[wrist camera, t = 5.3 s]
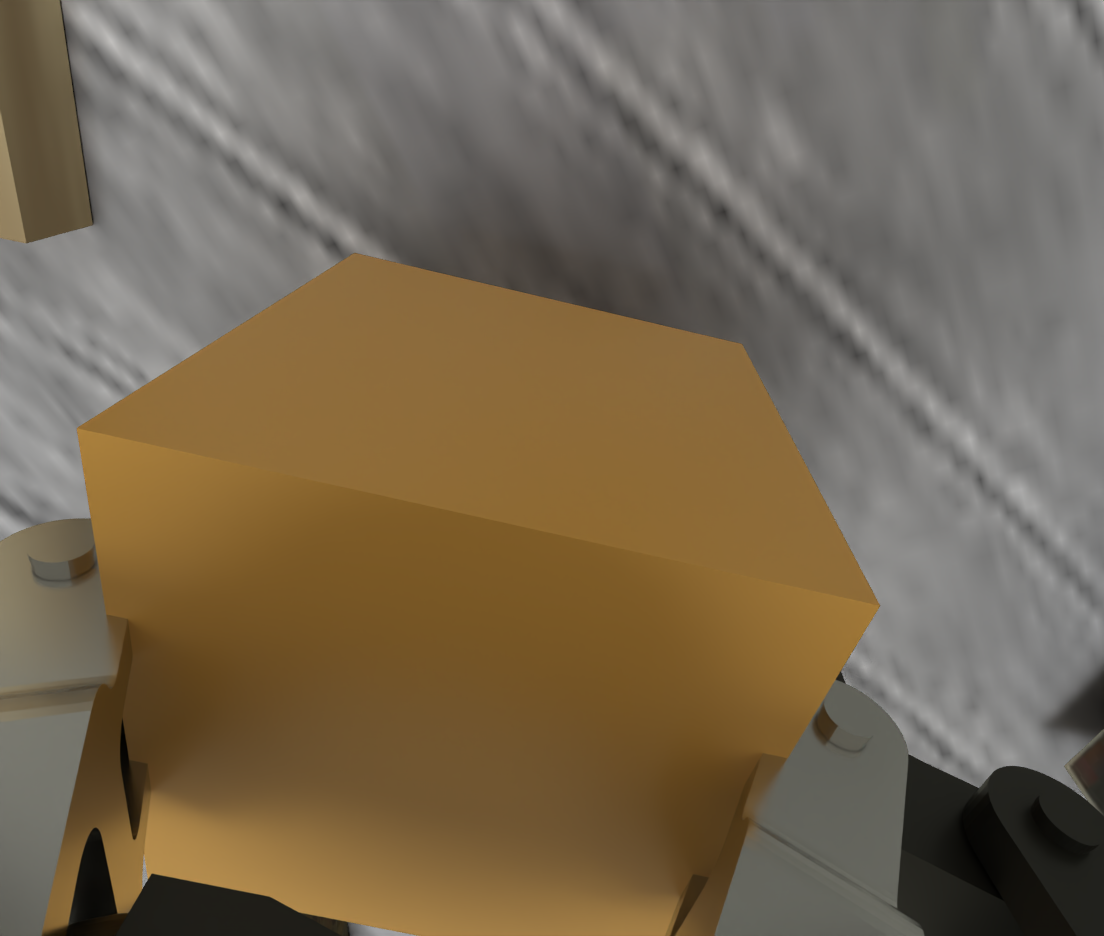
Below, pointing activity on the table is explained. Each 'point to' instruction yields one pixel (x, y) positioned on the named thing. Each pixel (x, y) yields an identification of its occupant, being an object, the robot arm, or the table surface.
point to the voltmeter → (1090, 771)
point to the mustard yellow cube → (461, 604)
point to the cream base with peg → (38, 126)
